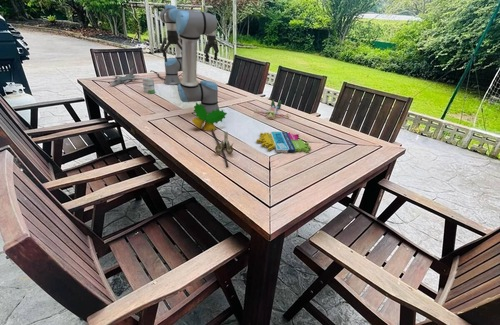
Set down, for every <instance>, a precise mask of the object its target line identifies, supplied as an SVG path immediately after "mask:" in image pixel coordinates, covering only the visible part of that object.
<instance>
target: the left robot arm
mask: <svg viewBox="0 0 500 325" xmlns="http://www.w3.org/2000/svg"><path fill="white" fill-rule="evenodd" d="M212 15H213V16H215V18H216V19H217V16H216V15H215V14H212ZM159 18H160V20H161V22H162V23H163V24H166V14H165V9H163V10H161V11H160V13H159ZM216 35H217V29H216V30H215V31H214V32H213V33H211V34H208V35H206V39H207V41H206V40H205V46H204V50H203V54H204V55H205V62H206V63H209V62H210V55H209V53H210V50H211V48H212V49H213V51H214V53H213V56H214V57H213V58H214V61H218V53H220V50H219V45H218V41H217V36H216ZM178 38H180V37H179V34H178ZM178 43H179V44H180V45H181V47H182V44H181V42H180V41H179V40H178ZM174 48H175V56H174V57H167V62H165V61H164V70H165V71H164V72H165V78H164V77H161V76H160V75H159V73H158V72H156V71H154V70H150V71H149V72H150V73H152V72H153V73H154V74H157V73H158V74H157V77H158V78H159V79H161V80H164V84H165V85H168V86H169V85H170V86H175V85H176V86H178V84H180V81H181V78H180V77H179V73H180V72H183V67H182V54H181V52H182V50H181V49H180V48H179V47H178V45H177V44H174Z"/></svg>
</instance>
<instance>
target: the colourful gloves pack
mask: <svg viewBox="0 0 500 325" xmlns="http://www.w3.org/2000/svg"><path fill="white" fill-rule="evenodd" d="M299 136H300V135H299V134H298V133H296V134H294V133H291V132H287V131H270V132H264V133H263V132H260V133H259V139H258V138H257V139H256V143H257V144H261V148H263V147H264V148H265V149H267V151H268V152H271V151H272V150H273V149H275V152H276V153H283V154H285V153H287V154H288V153H290V154H293V153H296V152H298V153H301V152H305V153H310V151H311V150H312V149H311V148H312V146H309V142H304V141H303V139H302V138H299Z"/></svg>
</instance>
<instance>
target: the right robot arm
mask: <svg viewBox="0 0 500 325" xmlns="http://www.w3.org/2000/svg"><path fill="white" fill-rule="evenodd" d="M164 10H165V14H166V23H165V24H166V36H167V37H164V36H163V37H162V43H161V45H160V48H159V51H160V52H161V53H162V57H164V63H165V62H167V58H168V57H167V50H168V49H169V48H170V46H171V45H175V44H177V45H178V47H179V48H180V49H181V50H182V52H181V54H182V67H183V71H182V78H181V79H180V84H177V85H176V88H177V93H178V97H179V99H180V101H181V102H182V103H196V102H200V104H201V106H204V109H206V112H208V113H211V112H212V110H214V111H216V110H217V109H219V111H221V110H220V108H219V102H218V99H219V98H218V97H219V88H218V84H217V83H216V82H215V81H211V80H205V79H204V80H200V82H199V81H198V80H197V69H198V68H197V67H198V64H197V63H198V59H197V58H198V41H200V39H201V36H207V35H208V34H211V33H213V32H214V31H215V30H216V31H217V28H218V20H217V17H216V18H215V16H216V15H215V16H213V15H214V14H212V13H210V12H206V11H201V10H198V9H186V8H177V6H176V5H173V4H166V5H164ZM178 34H179V37H180V38H178ZM178 40H179V41H180V42H181V44H182V47H181V45H180V44H179V43H178ZM208 113H207V115H208ZM214 131H215V130H213V129H212V131H211V133H212V135H213V138H214V139H215V142H217V144H218V145H220V144H221V142H220V141H219V139H218V138H217V136H216V134H215V132H214ZM221 153H222V155H223V159H224V162H225V166H226V168H229V163H228V159H227V156H226V154H225V151H224V149H223V150H222V151H221Z"/></svg>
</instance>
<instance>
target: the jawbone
mask: <svg viewBox="0 0 500 325" xmlns="http://www.w3.org/2000/svg"><path fill="white" fill-rule="evenodd" d="M223 135H224V136H223V140H222V139H221V142H220V145H218V143H217V141H215V144H216V146H215V148H214V149H215V152H214V154H215V155H217V156H218V155H220V153H222V150H223V151H224V150H226V152H227V153H228V155H229V156H233V155H234V154H233V153H234V148H233V144H234V143H230V140H228V139H229V138H228V137H229V136H228V135H229V133H228V131H226V132H224V134H223Z"/></svg>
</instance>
